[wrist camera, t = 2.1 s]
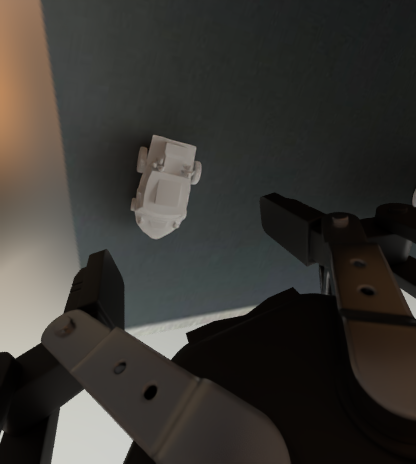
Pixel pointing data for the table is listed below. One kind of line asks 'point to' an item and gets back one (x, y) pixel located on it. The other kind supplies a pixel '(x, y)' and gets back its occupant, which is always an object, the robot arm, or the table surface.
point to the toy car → (164, 185)
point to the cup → (414, 199)
